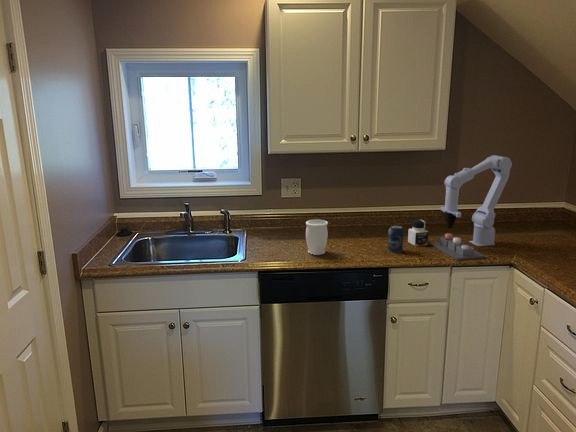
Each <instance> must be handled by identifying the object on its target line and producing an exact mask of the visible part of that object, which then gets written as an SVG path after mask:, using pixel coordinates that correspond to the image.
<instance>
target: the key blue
mask: <svg viewBox="0 0 576 432" xmlns="http://www.w3.org/2000/svg"><path fill="white" fill-rule="evenodd" d="M467 245H468V244H465V245H462V246H461V248H462V249H469V248H470V247H471V246H470V245H468V246H467Z"/></svg>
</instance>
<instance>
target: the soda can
mask: <svg viewBox="0 0 576 432" xmlns="http://www.w3.org/2000/svg"><path fill="white" fill-rule="evenodd" d="M404 233H405V232H404V228H403V226H401V225H395V224H394V225H390V226H389V228H388V234H387V236H388V237H387V250H388V251H389V252H390V253H393V254H398V253H401V252H402V251H403V246H404Z"/></svg>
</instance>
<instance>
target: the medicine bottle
mask: <svg viewBox="0 0 576 432" xmlns="http://www.w3.org/2000/svg"><path fill="white" fill-rule="evenodd" d="M407 235H408V236H407V243H409V244H411V245H412V246H414V247H420V246H427V245H428V244H429V243H428V242H429V231H428V230H426V220H423V219H414V220H413V221H412V228H408V233H407Z"/></svg>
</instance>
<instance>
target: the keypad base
mask: <svg viewBox="0 0 576 432" xmlns="http://www.w3.org/2000/svg"><path fill="white" fill-rule="evenodd" d="M453 238H454V237H453ZM453 238H452V240H445V236H444V237H443V236H441V237H439V241H436V242H435V241H434V242H432V241H431V242H429V245H430V246H432V247H433V248H435V249H437V250H439V252H442V253H443V254H445V255H446V256H448V257H451V258H452V259H454V260H455V261H465V260H476V259H478V260H479V259H485V258H486V255H485V254H482V253H480V252H479V251H477V250H475V248H474V247H472V246H470V248H469V249H462V248H461V246H462V245H467V246H469V245H468V244H465V243H463V242H462V241H461V244H457V245H455V244H453Z"/></svg>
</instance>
